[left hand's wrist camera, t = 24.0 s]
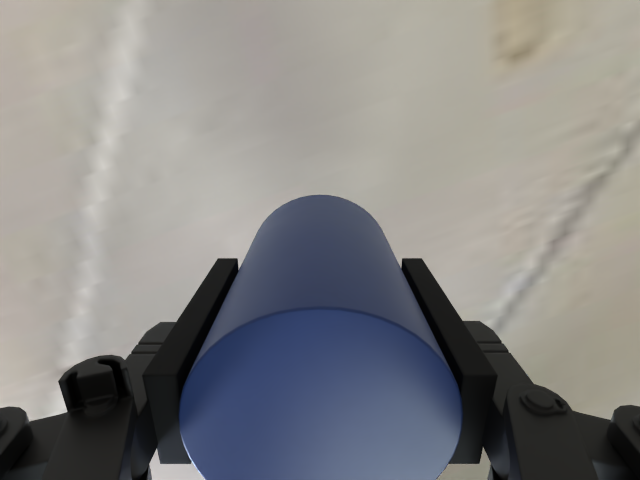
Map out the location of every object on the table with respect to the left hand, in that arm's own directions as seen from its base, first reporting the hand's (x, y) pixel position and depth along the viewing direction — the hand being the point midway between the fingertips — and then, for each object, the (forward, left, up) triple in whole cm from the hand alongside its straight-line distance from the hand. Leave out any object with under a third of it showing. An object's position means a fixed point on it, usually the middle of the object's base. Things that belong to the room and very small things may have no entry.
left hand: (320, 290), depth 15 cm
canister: (0, 0, -3) cm, 3 cm away
